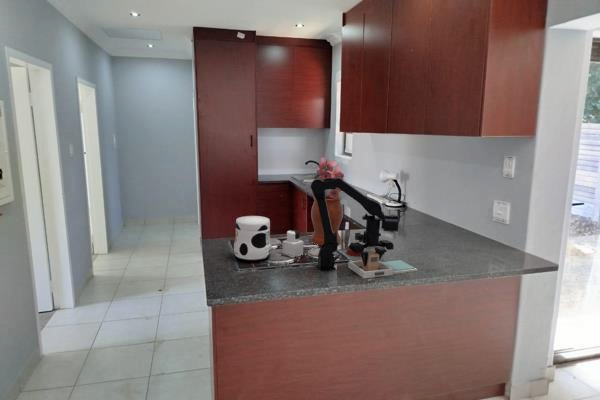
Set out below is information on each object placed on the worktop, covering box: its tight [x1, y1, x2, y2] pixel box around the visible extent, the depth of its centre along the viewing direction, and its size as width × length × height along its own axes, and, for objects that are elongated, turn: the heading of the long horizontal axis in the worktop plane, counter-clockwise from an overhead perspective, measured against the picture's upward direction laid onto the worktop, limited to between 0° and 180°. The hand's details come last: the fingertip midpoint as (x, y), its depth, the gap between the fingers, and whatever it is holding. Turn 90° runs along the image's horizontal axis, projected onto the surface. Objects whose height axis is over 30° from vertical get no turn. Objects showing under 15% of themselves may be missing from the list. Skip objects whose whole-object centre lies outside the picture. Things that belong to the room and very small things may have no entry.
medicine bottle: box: [282, 229, 304, 257], centre depth 192 cm, size 7×7×12 cm
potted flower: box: [309, 156, 345, 246], centre depth 213 cm, size 19×25×45 cm
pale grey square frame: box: [347, 259, 394, 279], centre depth 174 cm, size 14×15×2 cm
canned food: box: [345, 235, 368, 258], centre depth 198 cm, size 11×10×10 cm
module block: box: [361, 250, 380, 271], centre depth 174 cm, size 5×5×8 cm
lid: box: [381, 259, 418, 275], centre depth 180 cm, size 13×12×1 cm
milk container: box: [233, 215, 272, 262], centre depth 186 cm, size 17×17×18 cm
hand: (370, 265), depth 175 cm, fingers closed on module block, 5 cm apart
